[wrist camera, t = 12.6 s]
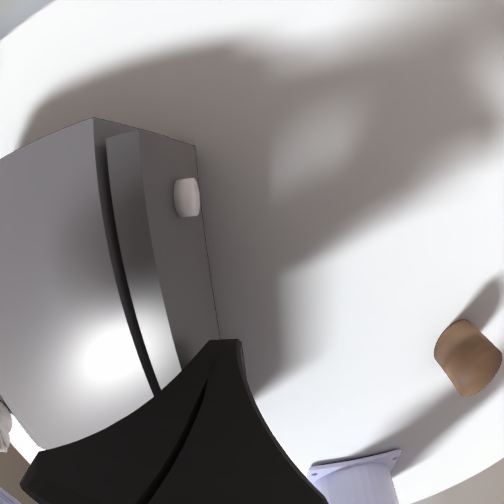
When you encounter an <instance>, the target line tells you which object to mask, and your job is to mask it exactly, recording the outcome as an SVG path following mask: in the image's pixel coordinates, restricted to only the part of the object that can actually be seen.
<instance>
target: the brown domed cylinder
mask: <svg viewBox="0 0 504 504" xmlns="http://www.w3.org/2000/svg"><path fill="white" fill-rule="evenodd" d="M434 357H435V359H436V361H437V362H438V363H439V365H440V366H441V367H442V369H443V370H444V372H445V373H446V374H447V376H448V377H449V379H450V380H451V381H452V383H453V384H454V386H455V387H456V388H457V390H458V391H459V393H460V394H461V396H463V397H469V396H472V395H474V394H476V393H478V392H479V391H481V390H482V389H483V388H484V387H485V386H486V385H487V384H488V383H489V382H490V381H491V380H492V379H493V377H494V376H495V374H496V373H497V371H498V369H499V367H500V365H501V362H502V353H501V352H500V351H499V350H498V349H497V348H496V347H495V346H494V345H493V344H492V343H491V342H490V341H489V340H488V339H487V338H486V337H485V336H484V335H483V334H482V333H481V332H480V331H479V330H478V329H477V328H476V327H475V326H474V325H473V324H471V323H470V322H469V321H467V320H460V321H457V322H455V323H453V324H452V325H450V326H449V327H448V328H447V329H446V330H445V331H444V332H443V333H442V335H441V336H440V338H439V339H438V341H437V343H436V346H435V349H434Z"/></svg>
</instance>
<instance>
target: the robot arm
mask: <svg viewBox="0 0 504 504" xmlns="http://www.w3.org/2000/svg"><path fill="white" fill-rule="evenodd" d="M401 454H402V452H401V450H399V449H398V450H394V451H390V452H386V453H382V454H378V455H374V456H370V457H365V458H361V459H356V460H351V461H345V462H339V463H333V464H326V465H319V466H313V467H310V468H309V470H308V477H307V478H306V477H305V476H304V475H303V474H302V472H301V471H300V470H299V469H298V468H297V466H296V465H295V464H294V463H293V462H292V460H291V459H290V458H289V457H288V455H287V454H286V453H285V451H284V450H283V448H282V447H281V446H280V444H279V443H278V441H277V440H276V438H275V437H274V436H273V434H272V432H271V431H270V429H269V427H268V426H267V424H266V422H265V420H264V419H263V417H262V415H261V413H260V411H259V409H258V407H257V405H256V403H255V401H254V398H253V396H252V393H251V391H250V388H249V386H248V383H247V379H246V371H245V364H244V357H243V349H242V342H241V341H240V340H238V339H226V340H209V341H208V342H207V343H206V344H205V345H204V346H203V347H202V349H201V350H200V351H199V352H198V353H197V354H196V355H195V357H194V358H193V359H192V360H191V361H190V362H189V363H188V364H187V365H186V366H185V367H184V369H183V370H182V371H181V372H180V373H179V374H178V375H177V376H176V377H175V378H174V379H173V380H172V381H171V382H170V383H168V384H167V385H166V386H165V387H164V388H163V389H162V390H161V391H160V392H159V393H158V394H156V395H155V396H154V397H153V398H152V399H150V400H149V401H148V402H146V403H145V404H144V405H142V406H141V407H139V408H138V409H137V410H135V411H134V412H132V413H131V414H129V415H128V416H126V417H124V418H122V419H121V420H119V421H117V422H116V423H114V424H112V425H110V426H109V427H107V428H105V429H103V430H101V431H99V432H97V433H94V434H92V435H90V436H88V437H85V438H83V439H80V440H78V441H75V442H72V443H69V444H66V445H63V446H59V447H56V448H52V449H49V450H45V451H40V452H38V454H37V455H36V457H35V459H34V460H33V462H32V463H31V465H30V467H29V468H28V470H27V472H26V473H25V475H24V477H23V478H22V480H21V482H20V486H21V488H22V489H23V490H24V491H25V492H26V493H27V494H28V495H29V496H30V497H31V498H33V499H34V500H35V501H36V502H38V503H39V504H399V502H398V498H397V495H396V491H395V488H394V484H393V481H392V478H391V474H390V472H391V470H392V469H393V467H394V466H395V464H396V462H397V461H398V459H399V457H400V455H401ZM0 504H21V503H20V502H19V501H17V500H16V499H15V498H13V497H12V496H11V495H9V494H8V493H7V492H6V491H4V490H3V489H2V488H1V487H0ZM503 504H504V503H503Z"/></svg>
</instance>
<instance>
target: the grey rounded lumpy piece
mask: <svg viewBox="0 0 504 504" xmlns="http://www.w3.org/2000/svg"><path fill="white" fill-rule="evenodd" d="M11 427H12V419H11V415H10V412H9V410H8V409H7V407H6V406H5V405H4V404H3V403H2V402H1V401H0V452H7V448H8V446H9V445H10V444H9V441H10V438H9V434H8V433H9V431H10V430H11Z"/></svg>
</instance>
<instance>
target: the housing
mask: <svg viewBox="0 0 504 504" xmlns="http://www.w3.org/2000/svg"><path fill="white" fill-rule="evenodd" d="M136 130H141V131H145V132H148V133H152V134H156V135H159V136H163V137H166V138H169V137H167V136H164V135H160V134H157V133H153V132H150V131H146V130H142V129H139V128H135V127H131V126H127V125H123V124H119V123H115V122H111V121H107V120H103V119H98V118H94V117H93V118H90V119H87V120H84V121H82V122H79V123H76V124H74V125H71V126H69V127H66V128H64V129H61V130H59V131H56V132H54V133H52V134H49V135H47V136H45V137H43V138H40V139H38V140H36V141H34V142H32V143H30V144H28V145H26V146H24V147H22V148H20V149H18V150H16V151H14V152H12V153H10V154H9V155H7V156H5V157H3V158H1V159H0V395H1V397H2V398H3V400H4V401H5V403H6V404H7V406H8V407H9V409H10V410H11V412H12V413H13V415H14V416H15V417H16V419H17V420H18V421H19V423H20V424H21V425H22V427H23V428H24V429H25V431H26V432H27V433H28V434H29V436H30V437H31V438H32V439H33V441H34V442H35V443H36V444H37V445H38V446H39V447H41V448H43V449H46V450H49V449H52V448H56V447H59V446H63V445H66V444H69V443H72V442H75V441H78V440H80V439H83V438H85V437H88V436H90V435H92V434H94V433H97V432H99V431H101V430H103V429H105V428H107V427H109V426H110V425H112V424H114V423H116V422H117V421H119V420H121V419H122V418H124V417H126V416H128V415H129V414H131V413H132V412H134V411H135V410H137V409H138V408H139V407H141V406H142V405H144V404H145V403H146V402H148V401H149V400H150V399H152V398H153V397H154V396H155V395H156V394H158V393H159V392H160V391H161V388H160V386H159V383H158V381H157V378H156V375H155V372H154V370H153V367H152V364H151V361H150V358H149V355H148V352H147V349H146V346H145V343H144V340H143V337H142V333H141V330H140V327H139V323H138V320H137V316H136V313H135V309H134V305H133V302H132V298H131V294H130V290H129V286H128V282H127V278H126V273H125V269H124V264H123V260H122V255H121V250H120V245H119V240H118V234H117V229H116V223H115V217H114V210H113V203H112V196H111V188H110V180H109V170H108V160H107V147H106V138H109V137H113V136H117V135H120V134H124V133H128V132H132V131H136Z"/></svg>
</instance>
